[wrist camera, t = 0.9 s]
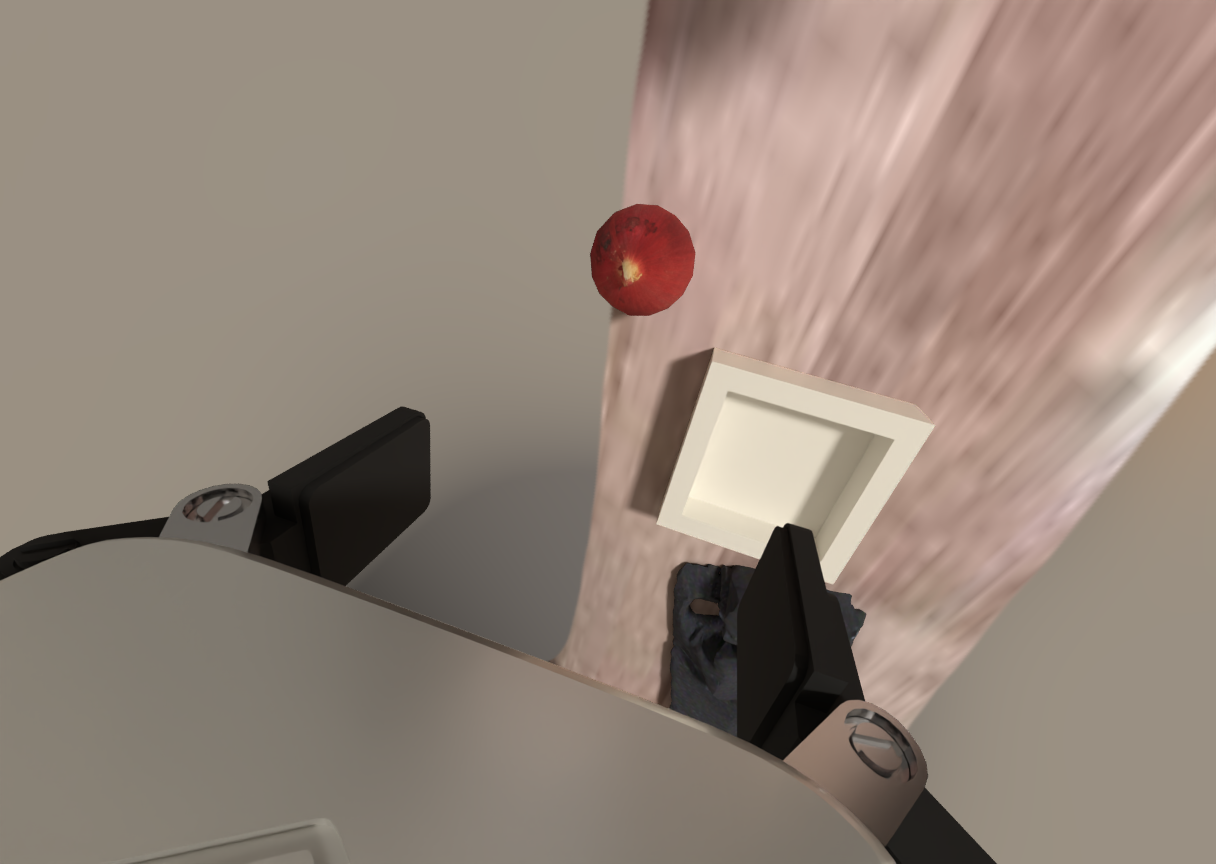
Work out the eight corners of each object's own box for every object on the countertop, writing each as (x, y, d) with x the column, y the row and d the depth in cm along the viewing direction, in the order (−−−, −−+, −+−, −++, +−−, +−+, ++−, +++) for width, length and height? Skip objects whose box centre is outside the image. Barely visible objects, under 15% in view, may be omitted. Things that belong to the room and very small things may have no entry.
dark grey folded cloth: (650, 703, 48) (642, 749, 44) (682, 544, 38) (676, 585, 34) (799, 749, 45) (806, 803, 41) (877, 590, 35) (895, 640, 31)
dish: (714, 347, 30) (711, 361, 27) (915, 404, 28) (935, 425, 25) (662, 500, 36) (656, 524, 33) (825, 554, 34) (833, 584, 31)
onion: (590, 255, 29) (545, 267, 22) (655, 183, 27) (626, 171, 20) (650, 321, 30) (624, 353, 23) (718, 258, 27) (712, 272, 20)
